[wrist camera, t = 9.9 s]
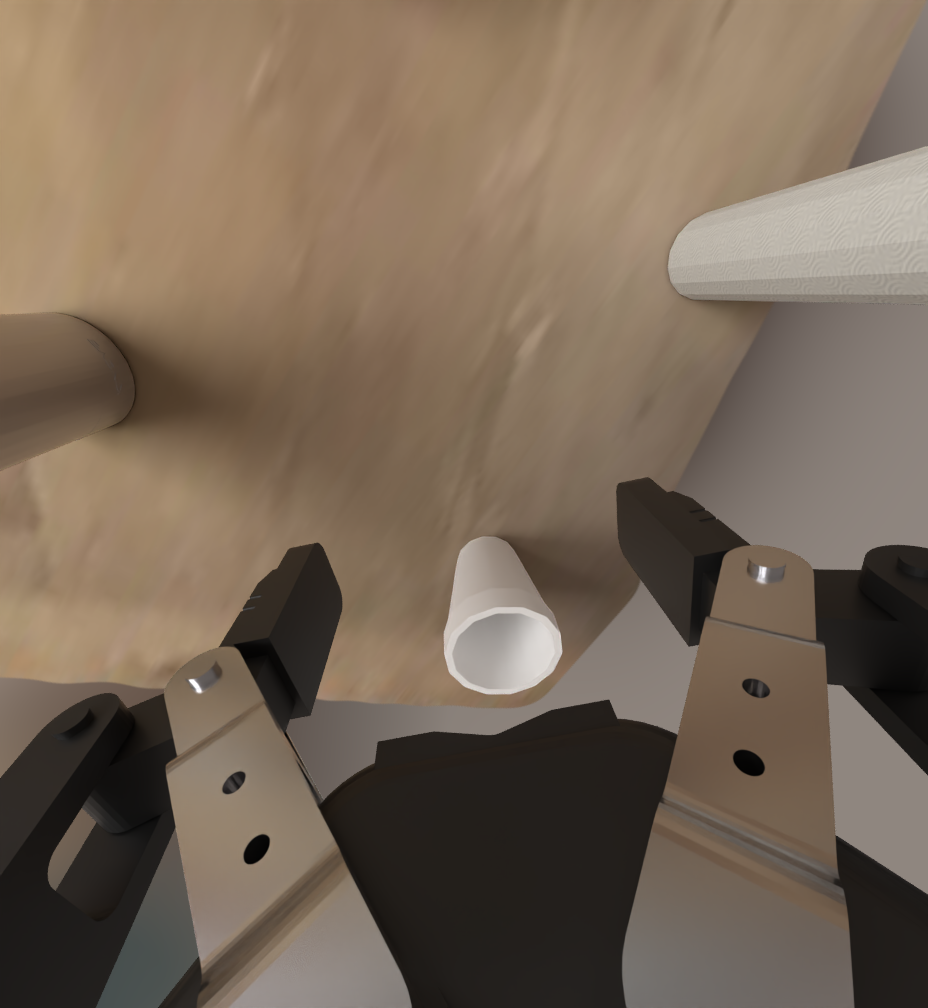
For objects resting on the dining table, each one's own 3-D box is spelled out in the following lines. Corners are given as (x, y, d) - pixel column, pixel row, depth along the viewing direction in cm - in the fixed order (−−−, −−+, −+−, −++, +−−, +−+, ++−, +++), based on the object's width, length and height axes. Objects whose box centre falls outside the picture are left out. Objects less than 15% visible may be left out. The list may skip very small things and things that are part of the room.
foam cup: (435, 531, 44) (434, 618, 32) (524, 515, 43) (556, 596, 32) (452, 603, 48) (457, 703, 36) (534, 588, 48) (565, 684, 36)
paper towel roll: (652, 248, 33) (941, 188, 14) (724, 192, 32) (1150, 43, 13) (689, 327, 36) (972, 365, 17) (757, 279, 35) (1147, 261, 16)
